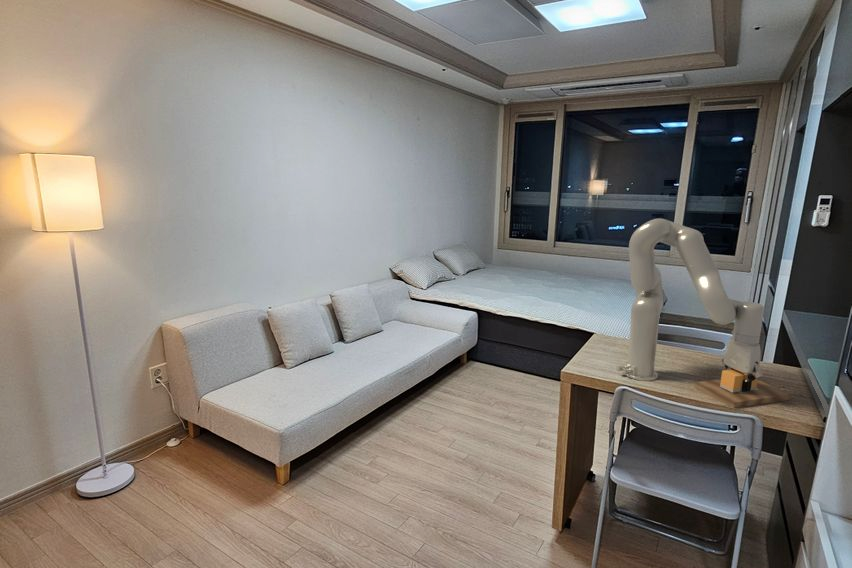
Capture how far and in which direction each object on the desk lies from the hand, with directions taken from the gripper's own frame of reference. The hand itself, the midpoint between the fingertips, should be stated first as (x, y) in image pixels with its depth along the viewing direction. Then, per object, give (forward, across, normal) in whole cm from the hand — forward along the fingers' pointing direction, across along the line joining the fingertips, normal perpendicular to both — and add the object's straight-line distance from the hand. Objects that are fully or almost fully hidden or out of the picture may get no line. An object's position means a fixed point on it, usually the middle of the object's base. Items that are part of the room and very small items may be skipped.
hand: (738, 386), depth 155 cm
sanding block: (0, 0, 0) cm, 0 cm away
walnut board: (+3, 0, +2) cm, 3 cm away
